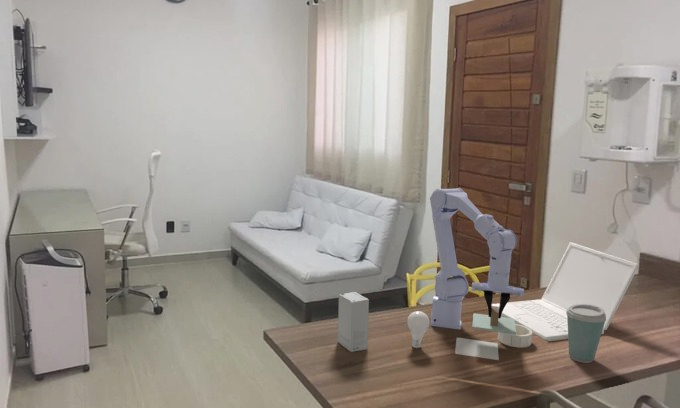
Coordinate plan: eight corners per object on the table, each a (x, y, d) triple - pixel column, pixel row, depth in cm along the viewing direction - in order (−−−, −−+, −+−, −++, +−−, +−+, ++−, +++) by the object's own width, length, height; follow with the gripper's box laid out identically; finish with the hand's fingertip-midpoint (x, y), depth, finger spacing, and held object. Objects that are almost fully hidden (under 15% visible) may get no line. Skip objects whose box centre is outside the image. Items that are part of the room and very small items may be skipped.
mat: (454, 355, 161) (454, 353, 160) (456, 339, 172) (456, 337, 172) (498, 361, 158) (498, 360, 158) (497, 344, 169) (497, 343, 169)
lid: (472, 328, 162) (473, 312, 161) (473, 315, 174) (474, 300, 173) (515, 334, 159) (517, 318, 158) (514, 320, 171) (515, 305, 170)
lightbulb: (429, 345, 166) (432, 310, 164) (425, 354, 160) (428, 317, 158) (407, 341, 168) (410, 306, 166) (403, 350, 162) (405, 313, 160)
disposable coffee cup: (580, 368, 156) (587, 316, 154) (552, 352, 166) (558, 303, 163) (608, 363, 160) (616, 313, 158) (579, 348, 170) (585, 300, 168)
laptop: (486, 309, 201) (493, 245, 197) (564, 301, 214) (571, 241, 210) (545, 342, 174) (554, 270, 170) (630, 331, 187) (640, 263, 183)
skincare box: (368, 349, 161) (371, 299, 159) (349, 353, 158) (352, 302, 156) (353, 338, 168) (356, 290, 166) (335, 341, 165) (338, 292, 163)
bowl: (498, 346, 169) (499, 333, 168) (497, 333, 178) (498, 321, 177) (532, 350, 166) (533, 337, 166) (529, 338, 176) (530, 326, 175)
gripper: (473, 272, 162) (468, 317, 164) (526, 278, 158) (521, 325, 160) (473, 266, 168) (469, 309, 171) (524, 272, 165) (519, 316, 167)
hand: (494, 316), depth 166 cm, fingers closed on lid
